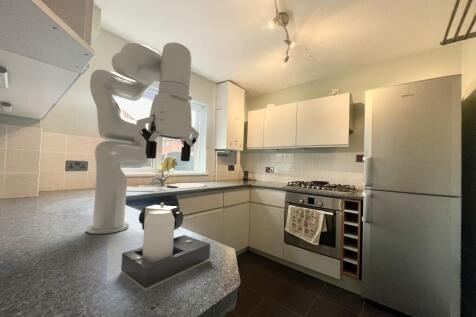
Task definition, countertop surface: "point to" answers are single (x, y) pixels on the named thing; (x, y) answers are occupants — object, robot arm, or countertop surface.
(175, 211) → the pneumatic valve
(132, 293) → the countertop surface
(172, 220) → the beverage can
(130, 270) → the grey pocketed holder block
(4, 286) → the countertop surface
